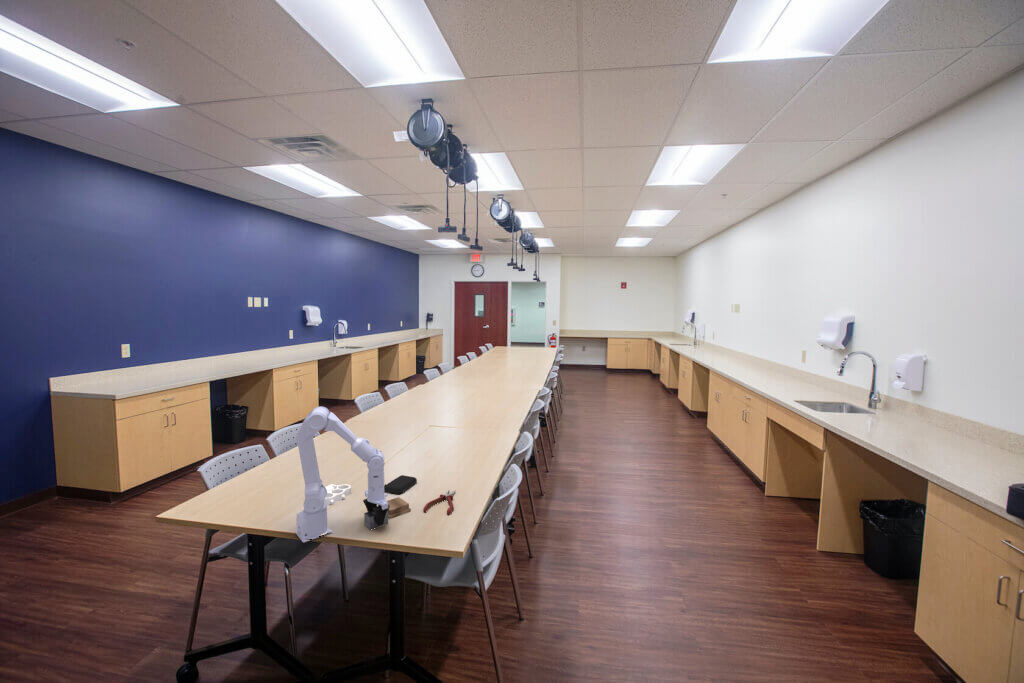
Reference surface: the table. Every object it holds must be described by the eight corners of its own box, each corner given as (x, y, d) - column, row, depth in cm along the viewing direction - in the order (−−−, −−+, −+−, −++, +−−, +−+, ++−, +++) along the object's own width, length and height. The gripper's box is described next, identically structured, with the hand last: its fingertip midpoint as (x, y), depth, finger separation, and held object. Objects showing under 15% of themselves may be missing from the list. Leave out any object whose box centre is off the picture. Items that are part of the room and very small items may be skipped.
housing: (388, 524, 151) (388, 510, 151) (369, 531, 146) (369, 517, 146) (382, 519, 154) (382, 506, 154) (364, 526, 150) (364, 512, 149)
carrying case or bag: (398, 479, 191) (379, 492, 178) (398, 473, 191) (378, 485, 177) (418, 482, 188) (400, 496, 174) (418, 476, 188) (400, 489, 174)
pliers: (465, 494, 178) (465, 488, 178) (450, 517, 158) (450, 510, 158) (439, 491, 180) (439, 485, 180) (422, 513, 160) (422, 507, 160)
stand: (389, 519, 155) (389, 511, 154) (378, 510, 161) (378, 503, 161) (410, 511, 161) (410, 503, 161) (399, 503, 167) (399, 496, 167)
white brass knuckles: (336, 487, 182) (358, 495, 175) (297, 503, 167) (319, 513, 159) (336, 480, 182) (358, 487, 174) (297, 495, 166) (319, 504, 159)
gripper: (395, 488, 147) (396, 524, 148) (377, 476, 157) (377, 510, 158) (377, 494, 142) (377, 531, 143) (359, 481, 152) (359, 516, 153)
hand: (376, 521), depth 150 cm, fingers open, 6 cm apart
